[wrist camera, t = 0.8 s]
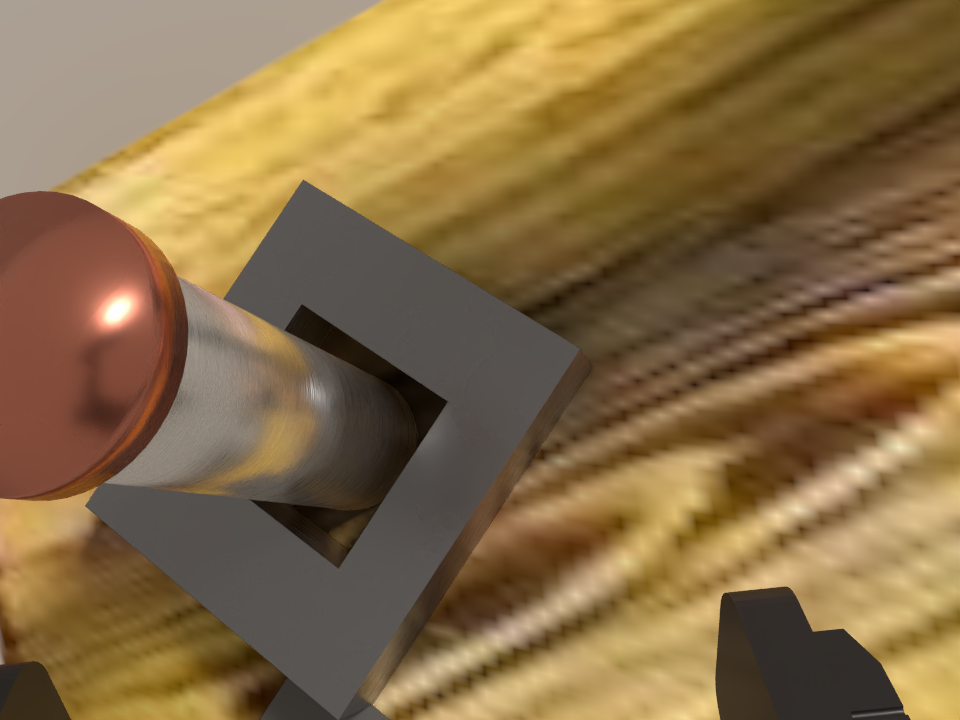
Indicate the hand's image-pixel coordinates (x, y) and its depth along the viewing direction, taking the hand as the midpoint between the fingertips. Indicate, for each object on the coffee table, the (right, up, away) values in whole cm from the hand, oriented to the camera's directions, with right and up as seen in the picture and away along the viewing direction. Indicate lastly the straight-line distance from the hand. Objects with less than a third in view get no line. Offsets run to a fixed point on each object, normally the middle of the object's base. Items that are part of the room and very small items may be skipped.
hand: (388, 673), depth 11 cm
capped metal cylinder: (-4, +1, +23) cm, 23 cm away
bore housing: (-4, +1, +23) cm, 23 cm away
